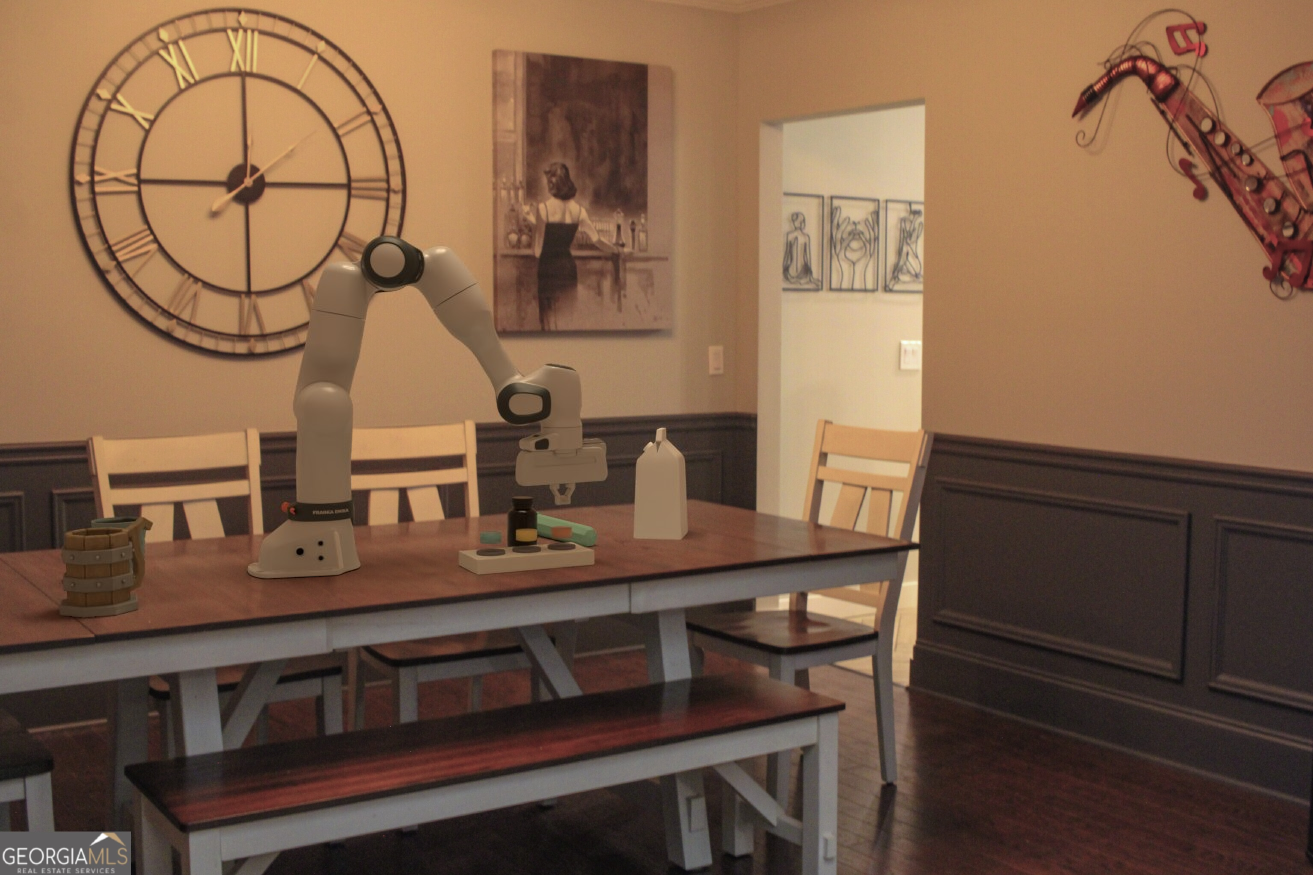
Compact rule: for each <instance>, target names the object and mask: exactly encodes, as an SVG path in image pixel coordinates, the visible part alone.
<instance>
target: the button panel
mask: <svg viewBox="0 0 1313 875" xmlns="http://www.w3.org/2000/svg"><path fill="white" fill-rule="evenodd" d="M591 565H593V566H594V565H595V550H594V549H591V548H589V547H583V546H581V545H578V544H575V543H573V542H568V543H567V542H554V543H544V544H537V545H530V546H517V547H507V546H506V547H494V548H492V547H491V548H481V549H471V550H470V549H468V550H459V551H458V566H460V567H462V568H463V569H466V570H468V571H469V572H471V573H474V574H475V575H478V576H479V575H488V574H489V575H490V574H501V573H513V572H523V571H537V570H547V569H548V570H549V569H557V568H558V569H559V568H560V569H561V568H568V567H569V568H571V567H579V566H580V567H581V566H591Z"/></svg>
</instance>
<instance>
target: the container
mask: <svg viewBox="0 0 1313 875" xmlns="http://www.w3.org/2000/svg"><path fill="white" fill-rule="evenodd" d="M536 512H537V536H540V537H544V538H548V539H552V540H555V541H556V540H557V541H561V542H562V543H568V542H573V543H575V544H578V545H581V546H583V547H586V548H589V547H593V546H594V545H596V543H597V542H598V533H597V531H596V530H595V529H594V528H593V527H592V526H589V525H586V524H581V523H576V522H572V521H569V520H565V519H562V518H561V519H560V518H556V517H553V516H549V515H545V514H542V513H541V512H540V511H536ZM556 526H568V527H572V537H571V538H564V539H558V538H552V537H551V527H556Z"/></svg>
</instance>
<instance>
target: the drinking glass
mask: <svg viewBox="0 0 1313 875" xmlns="http://www.w3.org/2000/svg"><path fill="white" fill-rule="evenodd" d="M139 517H140V516H113V517H101V518H96V519H92V520H91V521H90V522H91V523H90V524H91V525H90V526H91V528H105V527H108V528H110V527H112V528H125V529H126V528H127V527H128V526H130V525H131V524H133V523H134V522H135V521H136V520H137V519H138V518H139ZM146 532H147V530H144V529H142V530H141V531H140V532H139V540H140V548H141V551H142V554H143V557H144V559H146V557H145V553H146V536H147V533H146ZM129 568H132V569H133V563H132V560H131V559H130V560H129Z"/></svg>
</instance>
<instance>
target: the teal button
mask: <svg viewBox="0 0 1313 875" xmlns="http://www.w3.org/2000/svg"><path fill="white" fill-rule="evenodd" d="M479 543H480V544H483V545H496V544H501V543H502V531H497V530H496V531H495V530H489V531H486V530H485V531H481V532H480V533H479Z"/></svg>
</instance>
